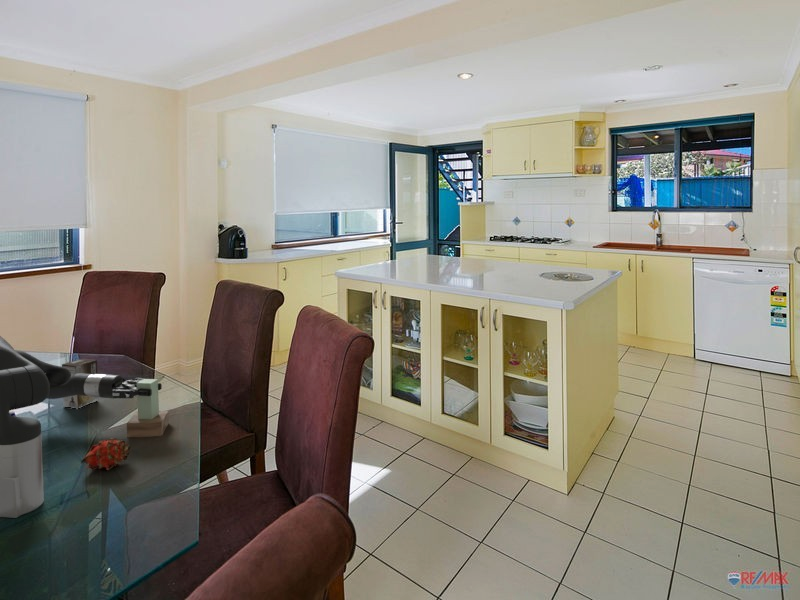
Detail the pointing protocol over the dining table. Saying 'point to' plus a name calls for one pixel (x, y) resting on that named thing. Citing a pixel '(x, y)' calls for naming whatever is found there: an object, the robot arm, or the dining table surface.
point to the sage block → (148, 399)
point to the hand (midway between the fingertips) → (156, 389)
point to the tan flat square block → (147, 425)
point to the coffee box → (76, 367)
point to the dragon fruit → (106, 454)
